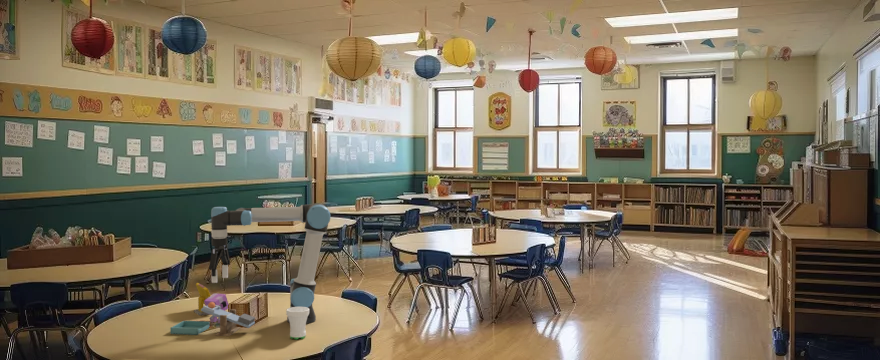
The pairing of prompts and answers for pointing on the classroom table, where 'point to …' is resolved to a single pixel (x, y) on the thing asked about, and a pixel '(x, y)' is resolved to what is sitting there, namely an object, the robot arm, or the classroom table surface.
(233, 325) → the fulcrum
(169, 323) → the classroom table surface
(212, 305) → the ball
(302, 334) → the cup
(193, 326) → the tray
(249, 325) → the lever
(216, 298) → the toy
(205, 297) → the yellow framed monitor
